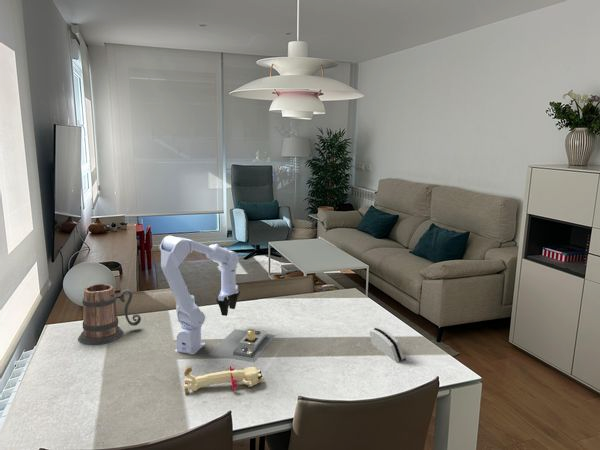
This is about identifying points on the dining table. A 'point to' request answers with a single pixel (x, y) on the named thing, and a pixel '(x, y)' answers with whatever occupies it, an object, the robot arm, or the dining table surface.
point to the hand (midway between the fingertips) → (228, 311)
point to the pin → (251, 335)
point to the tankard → (103, 315)
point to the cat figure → (223, 378)
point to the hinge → (387, 343)
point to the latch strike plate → (250, 344)
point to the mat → (232, 343)
